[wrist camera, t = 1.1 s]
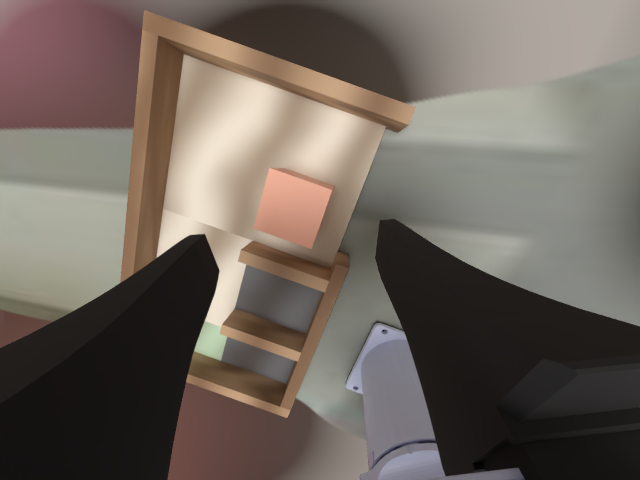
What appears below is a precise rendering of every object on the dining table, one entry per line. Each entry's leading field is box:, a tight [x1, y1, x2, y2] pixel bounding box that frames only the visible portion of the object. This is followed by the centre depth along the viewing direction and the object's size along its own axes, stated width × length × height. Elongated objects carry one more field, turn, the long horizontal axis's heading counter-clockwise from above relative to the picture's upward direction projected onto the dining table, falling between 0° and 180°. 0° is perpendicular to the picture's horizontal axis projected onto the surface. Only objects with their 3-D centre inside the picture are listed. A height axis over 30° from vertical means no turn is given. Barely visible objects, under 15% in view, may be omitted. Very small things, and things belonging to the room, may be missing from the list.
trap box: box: [121, 10, 416, 418], centre depth 19 cm, size 17×27×3 cm, turn 161°
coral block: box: [254, 168, 335, 249], centre depth 17 cm, size 4×4×4 cm
